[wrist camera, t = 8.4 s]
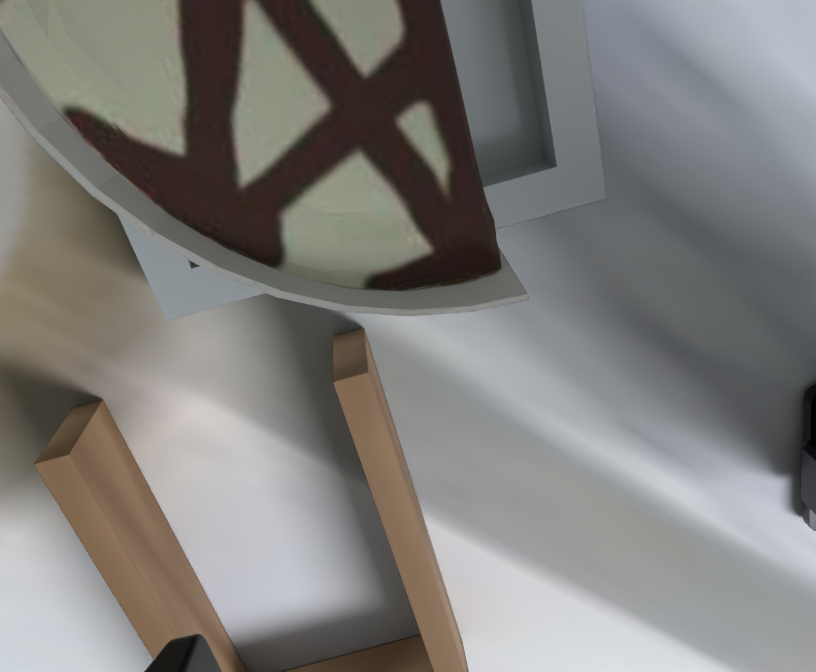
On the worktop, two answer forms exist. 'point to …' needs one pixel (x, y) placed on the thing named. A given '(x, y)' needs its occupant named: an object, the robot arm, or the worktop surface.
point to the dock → (169, 567)
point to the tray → (474, 131)
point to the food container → (270, 141)
